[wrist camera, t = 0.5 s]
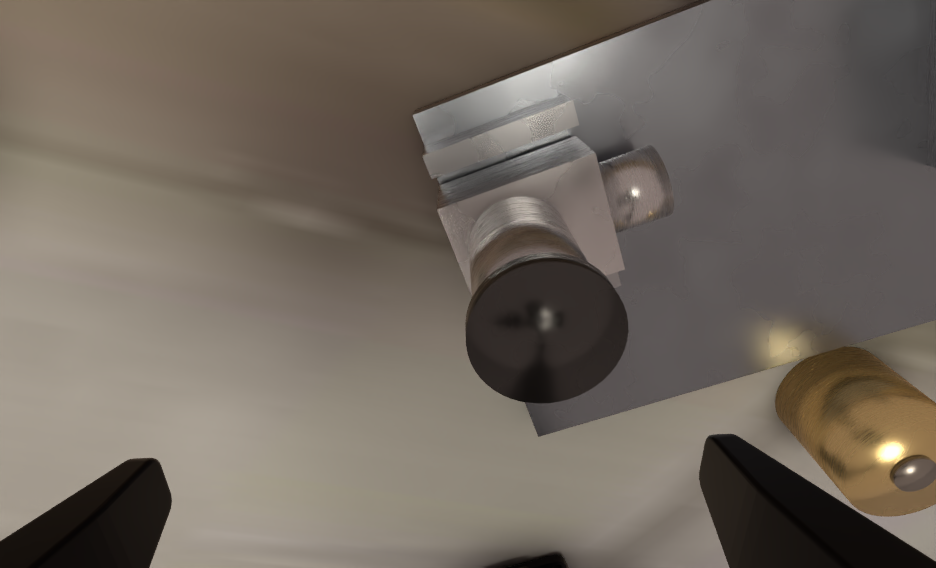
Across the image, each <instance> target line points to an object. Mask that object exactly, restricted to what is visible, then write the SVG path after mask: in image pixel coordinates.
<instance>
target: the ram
mask: <svg viewBox="0 0 936 568" xmlns="http://www.w3.org/2000/svg"><path fill="white" fill-rule="evenodd" d="M673 210H674V197H673V191H672V186H671V182H670V179H669V175H668V173H667V170H666V167H665V165H664V163H663V161H662V159H661V157H660V155H659V153H658V152H657V151H656V149H655V148H654V147H653V146H651V145H647V146H645V147H642V148H639V149H636V150H633V151H630V152H628V153H625V154H622V155H619V156H616V157H614V158H611V159H608V160H605V161H602V162H600V163H598V161H597V157H596V153H595V152H594V151H593V150H592V149H590V148H589V147H588V146H587V145H586V144H585V143H583V142H582V141H581V140H580V139H579V138H578V137H576V136H574V137H571V138H568V139H566V140H563V141H560V142H557V143H555V144H552V145H549V146H546V147H544V148H541V149H538V150H535V151H533V152H530V153H527V154H524V155H522V156H519V157H516V158H513V159H511V160H508V161H505V162H502V163H500V164H497V165H494V166H491V167H489V168H486V169H483V170H480V171H478V172H475V173H472V174H469V175H467V176H464V177H461V178H459V179H456V180H453V181H450V182H448V183H445V184H442V185H439V191H438V203H437V211H438V214H439V216H440V219H441V221H442V224H443V226H444V229H445V231H446V234H447V236H448V239H449V241H450V244H451V246H452V249H453V251H454V253H455V256H456V258H457V261H458V263H459V266H460V268H461V271H462V273H463V276H464V278H465V281H466V283H467V286H468V288H469V291H470V293H471V296H472V299H471V301H470V304H469V307H468V310H467V314H466V322H465V325H466V347H467V352H468V356H469V359H470V362H471V364H472V366H473V368H474V370H475V371H476V373H477V374H478V375H479V377H480V378H481V379H482V380H483V381H484V382H485V383H486V384H487V385H488V386H490V387H491V388H492V389H493V390H495V391H497V392H498V393H500V394H502V395H504V396H506V397H509V398H511V399H514V400H518V401H522V402H527V403H554V402H560V401H564V400H568V399H571V398H574V397H577V396H579V395H581V394H583V393H585V392H587V391H589V390H590V389H592V388H594V387H595V386H597V385H598V384H599V383H600V382H602V381H603V380H604V379H605V378H606V377H607V376H608V375H609V374H610V373H611V372H612V370H613V369H614V368H615V367H616V365H617V364H618V362H619V360H620V359H621V357H622V354H623V352H624V350H625V347H626V343H627V338H628V318H627V313H626V310H625V307H624V304H623V302H622V300H621V298H620V297H619V295H618V293H617V292H616V290H615V288H614V287H613V285H612V284H611V282H610V281H609V280H608V278H607V277H606V275H609V274H612V273H615V272H619V271H622V270H625V267H624V263H623V259H622V255H621V251H620V247H619V243H618V240H617V236H616V233H619V232H622V231H625V230H628V229H631V228H634V227H636V226H639V225H642V224H645V223H648V222H651V221H654V220H657V219H660V218H663V217H666V216H669V215H671V214H672V213H673Z"/></svg>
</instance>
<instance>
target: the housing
mask: <svg viewBox="0 0 936 568" xmlns="http://www.w3.org/2000/svg"><path fill="white" fill-rule="evenodd" d="M775 407H776V412H777V414H778V416H779V418H780V419H781V421H782V422H783V423H784V424H785V426H786V427H787V428H788V429H789V430H790V431H791V433H792V434H793V435H794V436H795V437H796V439H797V440H798V441H799V442H800V443H801V445H802V446H803V447H804V448H805V449H806V450H807V452H808V453H809V454H810V455H811V456H812V458H813V459H814V460H815V461H816V462H817V463H818V465H819V466H820V467H821V468H822V469H823V471H824V472H825V473H826V474H827V475H828V477H829V478H830V479H831V480H832V481H833V482H834V484H835V485H836V486H837V487H838V488H839V490H840V491H841V492H842V493H843V494H844V496H845V497H846V498H847V499H848V500H849V501H850V503H851V504H852V505H853V506H854V507H856V508H857V509H859V510H860V511H862V512H865V513H867V514H871V515H876V516H900V515H906V514H910V513H914V512H917V511H920V510H923V509H926V508H928V507H930V506H932V505H935V504H936V403H935V402H934V401H932V400H931V399H930V398H928V397H927V396H926V395H925V394H923V393H922V392H921V391H919V390H918V389H917V388H915V387H914V386H913V385H912V384H910V383H909V382H908V381H906V380H905V379H904V378H902V377H901V376H900V375H899V374H897V373H896V372H895V371H893V370H892V369H891V368H890V367H888V366H887V365H886V364H884V363H883V362H882V361H880V360H879V359H878V358H877V357H875V356H874V355H873V354H871V353H869V352H868V351H866V350H863V349H860V348H855V347H841V348H838V349H835V350H831V351H828V352H824V353H821V354H818V355H814V356H811V357H808V358H806V359H804V360H803V361H802V362H800V363H799V364H797V365H796V366H795V367H794V368H793V369H792V370H791V371H790V372H789V373H788V374H787V375H786V377H785V378H784V379H783V381H782V382H781V384H780V386H779V388H778V391H777V394H776V399H775Z"/></svg>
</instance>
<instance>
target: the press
mask: <svg viewBox="0 0 936 568" xmlns="http://www.w3.org/2000/svg"><path fill="white" fill-rule="evenodd" d="M413 118H414V120H415V123H416V126H417V128H418V131H419V133H420V136H421V138H422V141H423V143H424V146H425V147H424V151H423V155H422V157H423V159H424V162H425V164H426V167H427V169H428V172H429V174H430V177H431V179H433V178H436V177H437V179H438V182H439V184H440V185H442V184H445V183H448V182H450V181H453V180H456V179H459V178H461V177H464V176H467V175H469V174H472V173H475V172H478V171H480V170H483V169H486V168H489V167H491V166H494V165H497V164H500V163H502V162H505V161H508V160H511V159H513V158H516V157H519V156H522V155H524V154H527V153H530V152H533V151H535V150H538V149H541V148H544V147H546V146H549V145H552V144H555V143H557V142H560V141H563V140H566V139H568V138H571V137H574V136H576V137H578V138H579V139H580V140H581V141H582V142H583V143H585V144H586V145H587V146H588V147H589V148H590V149H592V150H593V151H594V152H595V153H596V157H597V161H598V163H600V162H602V161H605V160H608V159H611V158H614V157H616V156H619V155H622V154H625V153H628V152H630V151H633V150H636V149H639V148H642V147H645V146H647V145H651V146H653V147H654V148H655V149H656V151H657V152H658V153H659V155H660V157H661V159H662V161H663V163H664V165H665V167H666V170H667V173H668V175H669V179H670V182H671V186H672V191H673V197H674V210H673V213H672V214H671V215H669V216H666V217H663V218H660V219H657V220H654V221H651V222H648V223H645V224H642V225H639V226H636V227H634V228H631V229H628V230H625V231H622V232H619V233H616V236H617V240H618V243H619V247H620V251H621V255H622V259H623V263H624V267H625V270H622V271H619V272H615V273H612V274H609V275H606V277H607V278H608V280H609V281H610V282H611V284H612V285H613V287H614V288H615V290H616V292H617V293H618V295H619V297H620V298H621V300H622V302H623V304H624V307H625V310H626V313H627V318H628V338H627V343H626V347H625V350H624V352H623V354H622V357H621V359H620V360H619V362H618V364H617V365H616V367H615V368H614V369H613V370H612V372H611V373H610V374H609V375H608V376H607V377H606V378H605V379H604V380H603V381H602V382H600V383H599V384H598V385H597V386H595V387H594V388H592V389H590V390H589V391H587V392H585V393H583V394H581V395H579V396H577V397H574V398H571V399H568V400H564V401H560V402H554V403H527V402H525V404H526V406H527V409H528V411H529V414H530V416H531V419H532V421H533V424H534V426H535V429H536V432H537V434H538V437H539V436H542V435H546V434H549V433H552V432H556V431H559V430H563V429H566V428H569V427H573V426H576V425H580V424H583V423H586V422H590V421H593V420H597V419H600V418H603V417H607V416H610V415H614V414H617V413H620V412H624V411H627V410H631V409H634V408H637V407H641V406H644V405H648V404H651V403H654V402H658V401H661V400H665V399H668V398H671V397H675V396H678V395H682V394H685V393H688V392H692V391H695V390H699V389H702V388H705V387H709V386H712V385H716V384H719V383H722V382H726V381H729V380H733V379H736V378H739V377H743V376H746V375H750V374H753V373H756V372H760V371H763V370H767V369H770V368H773V367H777V366H780V365H784V364H787V363H790V362H794V361H797V360H801V359H804V358H807V357H811V356H814V355H818V354H821V353H824V352H828V351H831V350H835V349H838V348H841V347H845V346H848V345H852V344H855V343H858V342H862V341H865V340H869V339H872V338H875V337H879V336H882V335H886V334H889V333H892V332H896V331H899V330H903V329H906V328H909V327H913V326H916V325H920V324H923V323H926V322H930V321H933V320H936V0H700V1H697V2H695V3H692V4H690V5H687V6H685V7H682V8H679V9H677V10H674V11H672V12H669V13H666V14H664V15H661V16H659V17H656V18H653V19H651V20H648V21H646V22H643V23H640V24H638V25H635V26H633V27H630V28H627V29H625V30H622V31H620V32H617V33H614V34H612V35H609V36H607V37H604V38H602V39H599V40H596V41H594V42H591V43H589V44H586V45H583V46H581V47H578V48H576V49H573V50H570V51H568V52H565V53H563V54H560V55H557V56H555V57H552V58H550V59H547V60H544V61H542V62H539V63H537V64H534V65H531V66H529V67H526V68H524V69H521V70H519V71H516V72H513V73H511V74H508V75H506V76H503V77H500V78H498V79H495V80H493V81H490V82H487V83H485V84H482V85H480V86H477V87H474V88H472V89H469V90H467V91H464V92H461V93H459V94H456V95H454V96H451V97H449V98H446V99H443V100H441V101H438V102H436V103H433V104H430V105H428V106H425V107H423V108H420V109H417V110H415V111H414V113H413Z"/></svg>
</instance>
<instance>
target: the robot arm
mask: <svg viewBox="0 0 936 568" xmlns="http://www.w3.org/2000/svg"><path fill="white" fill-rule="evenodd" d="M699 480H700V486H701V489H702V492H703V495H704V498H705V500H706V503H707V506H708V509H709V512H710V514H711V517H712V520H713V523H714V526H715V528H716V531H717V534H718V537H719V540H720V542H721V545H722V548H723V551H724V554H725V556H726V559H727V562H728V565H729V567H730V568H936V561H934V560H932V559H931V558H929V557H928V556H926V555H924V554H923V553H921V552H920V551H918V550H917V549H915V548H913V547H912V546H910V545H909V544H907V543H906V542H904V541H902V540H901V539H899V538H898V537H896V536H895V535H893V534H891V533H890V532H888V531H887V530H885V529H883V528H882V527H880V526H879V525H877V524H876V523H874V522H872V521H871V520H869V519H868V518H866V517H865V516H863V515H861V514H860V513H858V512H857V511H855V510H853V509H852V508H850V507H849V506H847V505H846V504H844V503H842V502H841V501H839V500H838V499H836V498H835V497H833V496H831V495H830V494H828V493H827V492H825V491H823V490H822V489H820V488H819V487H817V486H816V485H814V484H812V483H811V482H809V481H808V480H806V479H805V478H803V477H801V476H800V475H798V474H797V473H795V472H793V471H792V470H790V469H789V468H787V467H786V466H784V465H782V464H781V463H779V462H778V461H776V460H775V459H773V458H771V457H770V456H768V455H767V454H765V453H763V452H762V451H760V450H759V449H757V448H756V447H754V446H752V445H751V444H749V443H748V442H746V441H745V440H743V439H741V438H740V437H738V436H736V435H734V434H716V435H710V436H708V437H707V439H706V441H705V445H704V451H703V456H702V461H701V466H700V472H699ZM171 503H172V498H171V492H170V490H169V487H168V484H167V481H166V478H165V475H164V473H163V470H162V467H161V464H160V462H159V461H158V460H157V459H154V458H136V459H129V460H127V461H125V462H123V463H122V464H120V465H119V466H117V467H116V468H114V469H113V470H111V471H109V472H108V473H106V474H105V475H103V476H102V477H100V478H98V479H97V480H95V481H94V482H92V483H91V484H89V485H87V486H86V487H84V488H83V489H81V490H80V491H78V492H77V493H75V494H73V495H72V496H70V497H69V498H67V499H66V500H64V501H62V502H61V503H59V504H58V505H56V506H55V507H53V508H51V509H50V510H48V511H47V512H45V513H44V514H42V515H41V516H39V517H37V518H36V519H34V520H33V521H31V522H30V523H28V524H26V525H25V526H23V527H22V528H20V529H19V530H17V531H16V532H14V533H12V534H11V535H9V536H8V537H6V538H5V539H3V540H1V541H0V568H149V567H150V564H151V561H152V559H153V556H154V553H155V550H156V548H157V545H158V542H159V540H160V537H161V534H162V531H163V529H164V526H165V523H166V520H167V518H168V515H169V512H170V509H171ZM507 568H568V566H567V564H566V561H565V559H564V558H563V557H562V556H560V555H553V556H549V557H545V558H542V559H538V560H534V561H530V562H526V563H523V564H519V565H515V566H511V567H507Z"/></svg>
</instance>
